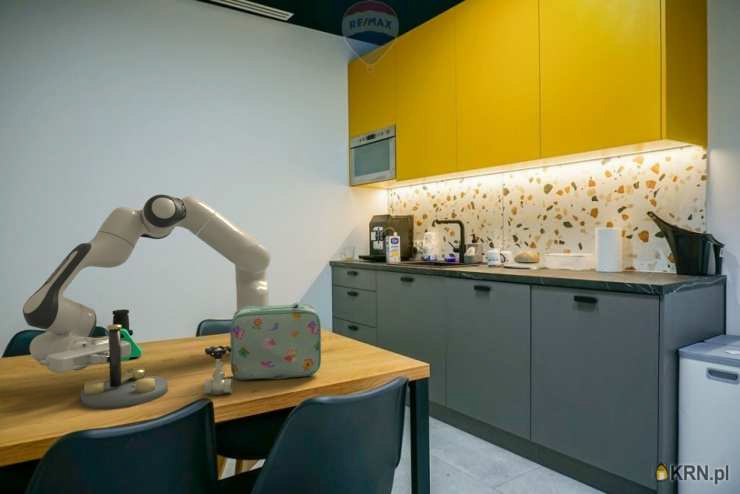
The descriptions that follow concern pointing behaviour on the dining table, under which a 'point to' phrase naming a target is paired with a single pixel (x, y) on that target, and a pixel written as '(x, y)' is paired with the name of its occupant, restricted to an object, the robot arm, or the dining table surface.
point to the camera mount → (134, 348)
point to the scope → (122, 320)
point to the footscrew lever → (119, 359)
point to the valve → (218, 373)
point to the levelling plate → (122, 392)
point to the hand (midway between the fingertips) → (110, 359)
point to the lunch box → (275, 342)
